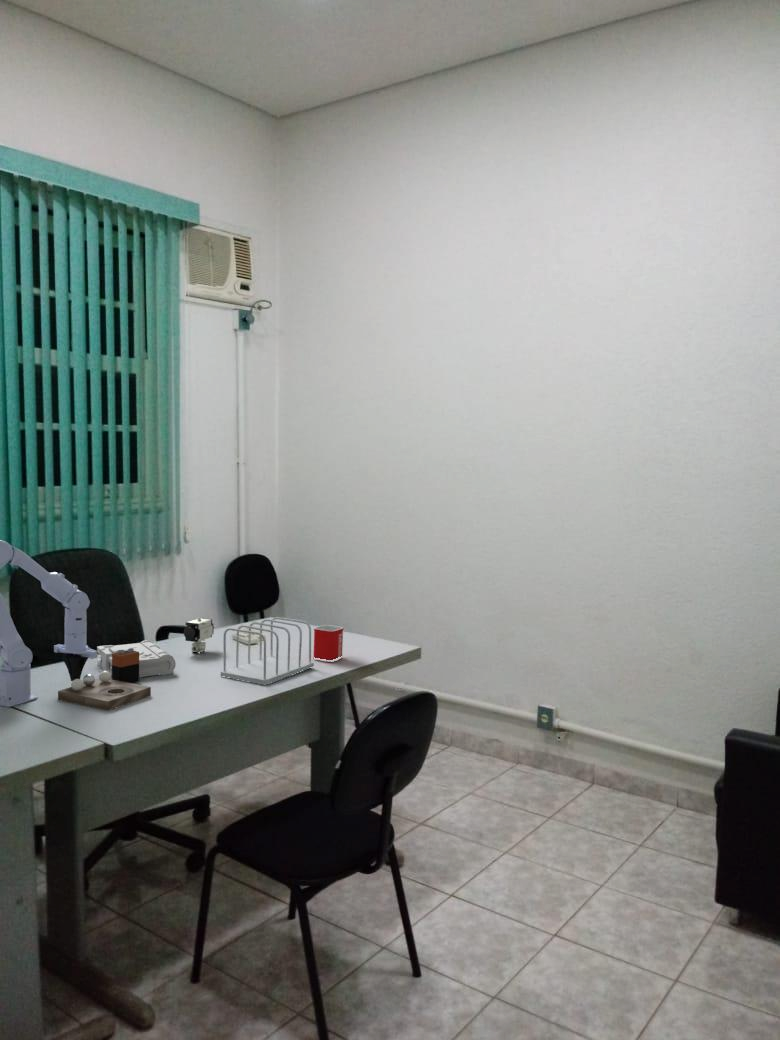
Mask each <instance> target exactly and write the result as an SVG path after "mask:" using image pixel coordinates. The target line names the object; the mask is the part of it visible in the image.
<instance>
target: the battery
mask: <svg viewBox="0 0 780 1040" xmlns="http://www.w3.org/2000/svg"><path fill="white" fill-rule="evenodd" d="M111 679H112V680H117V681H122V682H127V683H132V684H137V683H138V682H140V677H139V652H137V651H134V649H133V648H129V649H128V650H126V651H125V650H117V652H116V653H113V654H112V677H111Z"/></svg>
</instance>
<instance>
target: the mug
mask: <svg viewBox="0 0 780 1040" xmlns="http://www.w3.org/2000/svg"><path fill="white" fill-rule="evenodd" d="M344 629H345V628H344V627H343V626H337V625H329V624H322V625H318V626H316V627H313V631H314V632H313V635H314V636H313V658H314V657H315V658H320V659H326V660H333V659H336V658H338V657H341V656H342V657H343V646H344V645H343V641H344V639H343V638H344Z"/></svg>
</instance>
